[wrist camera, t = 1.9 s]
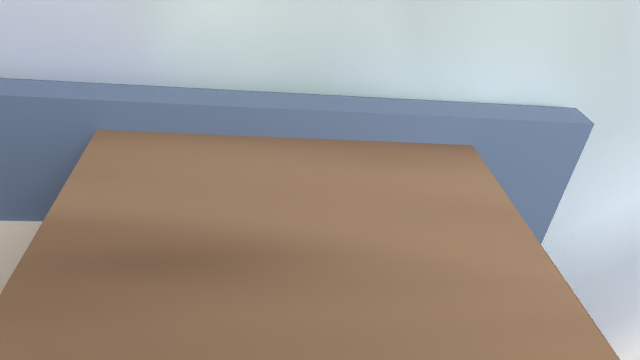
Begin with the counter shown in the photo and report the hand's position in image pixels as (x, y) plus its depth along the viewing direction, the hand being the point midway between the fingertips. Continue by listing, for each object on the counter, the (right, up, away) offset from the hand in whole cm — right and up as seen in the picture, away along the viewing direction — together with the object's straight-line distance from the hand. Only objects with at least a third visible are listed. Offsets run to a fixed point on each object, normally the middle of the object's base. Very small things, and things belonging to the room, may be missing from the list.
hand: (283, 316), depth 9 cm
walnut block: (0, +1, +1) cm, 1 cm away
